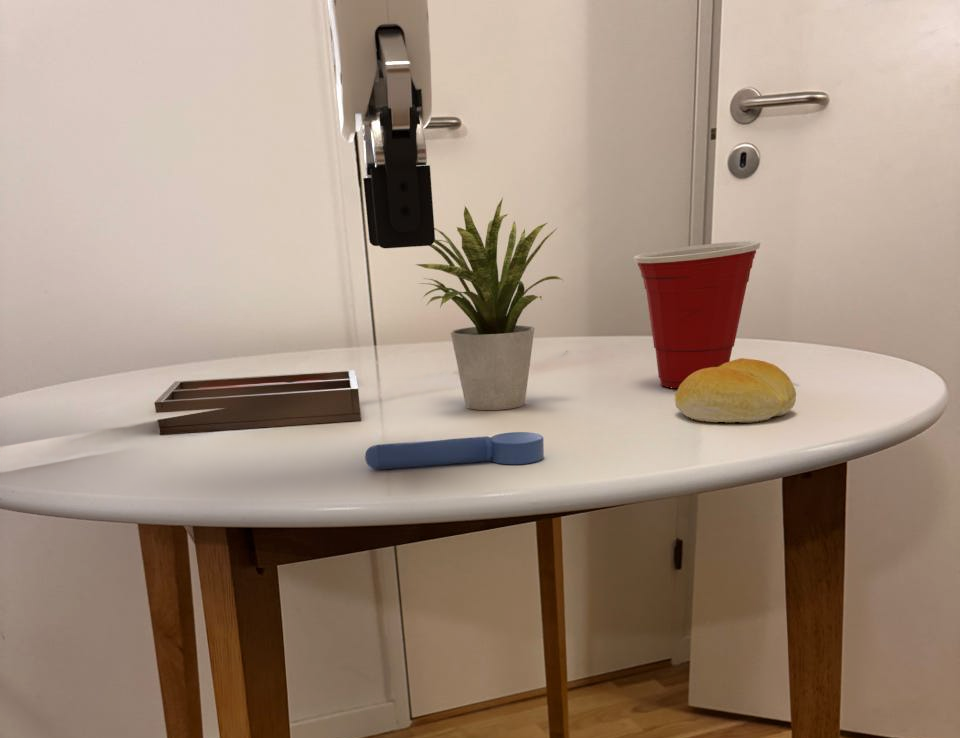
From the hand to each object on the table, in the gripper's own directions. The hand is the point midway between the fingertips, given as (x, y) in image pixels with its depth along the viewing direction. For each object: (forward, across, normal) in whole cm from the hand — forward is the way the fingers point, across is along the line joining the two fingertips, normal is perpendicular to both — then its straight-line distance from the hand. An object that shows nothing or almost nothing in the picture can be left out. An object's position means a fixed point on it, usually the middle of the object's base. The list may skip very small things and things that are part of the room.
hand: (400, 245), depth 57 cm
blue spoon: (+14, 0, +3) cm, 14 cm away
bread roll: (+14, -9, +26) cm, 31 cm away
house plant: (+14, -21, +8) cm, 27 cm away
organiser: (+13, -23, -11) cm, 29 cm away
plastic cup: (+14, -23, +27) cm, 38 cm away
